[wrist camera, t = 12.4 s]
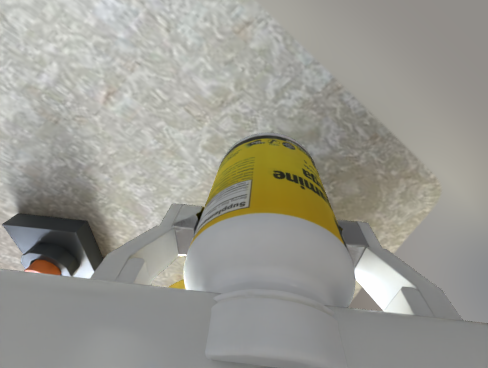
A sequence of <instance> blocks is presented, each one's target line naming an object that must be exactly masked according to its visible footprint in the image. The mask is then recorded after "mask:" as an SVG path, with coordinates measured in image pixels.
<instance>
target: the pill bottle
mask: <svg viewBox="0 0 488 368" xmlns="http://www.w3.org/2000/svg"><path fill="white" fill-rule="evenodd" d="M184 284H185V288H186V289H187V290H196V291H205V292H214V293H221V295H217V296H215V297H214V300H216V301H217V302H218V303H217V304H215V305H214V306H213V307H212V308H211V319H210V325H209V332H208V338H207V343H206V350H205V354H206V357H207V358H208V359H211V360H216V361H226V362H235V363H244V364H253V365H260V366H268V367H276V368H347V364H346V359H345V355H344V351H343V347H342V343H341V338H340V335H339V331H338V321H337V320H335V319H334V318H333V317H332V316H333V315H334V312H333V311H332V310H331V309H329V308H328V307H326V306H324V305H330V306H339V307H349V305H350V303H351V301H352V298H353V295H354V290H355V272H354V267H353V263H352V259H351V256H350V254H349V251H348V248H347V246H346V243H345V241H344V238H343V235H342V231H341V230H340V228H339V225H338V223H337V220H336V218H335V215H334V212H333V210H332V208H331V205H330V203H329V200H328V197H327V195H326V192H325V190H324V187H323V184H322V182H321V179H320V177H319V174H318V171H317V169H316V166H315V164H314V162H313V160H312V158H311V156H310V154H309V153H308V151H307V150H306V149H305V148H304V147H303V146H302V145H301V144H300V143H298V142H297V141H296V140H294V139H292V138H290V137H288V136H285V135H282V134H278V133H258V134H254V135H251V136H248V137H246V138H244V139H242V140H240V141H239V142H237V143H236V144H234V145H233V146H232V147H231V148H230V149H229V150H228V152H227V153H226V155H225V156H224V158H223V160H222V162H221V165H220V167H219V170H218V172H217V175H216V178H215V181H214V183H213V186H212V189H211V192H210V194H209V197H208V199H207V202H206V204H205V208H204V210H203V213H202V216H201V218H200V221H199V224H198V226H197V229H196V231H195V234H194V237H193V239H192V242H191V245H190V247H189V250H188V253H187V257H186V260H185V264H184Z"/></svg>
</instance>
